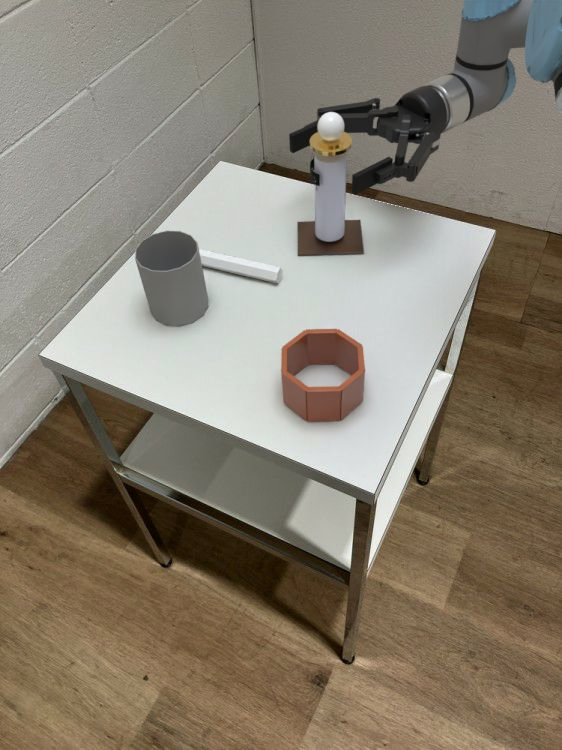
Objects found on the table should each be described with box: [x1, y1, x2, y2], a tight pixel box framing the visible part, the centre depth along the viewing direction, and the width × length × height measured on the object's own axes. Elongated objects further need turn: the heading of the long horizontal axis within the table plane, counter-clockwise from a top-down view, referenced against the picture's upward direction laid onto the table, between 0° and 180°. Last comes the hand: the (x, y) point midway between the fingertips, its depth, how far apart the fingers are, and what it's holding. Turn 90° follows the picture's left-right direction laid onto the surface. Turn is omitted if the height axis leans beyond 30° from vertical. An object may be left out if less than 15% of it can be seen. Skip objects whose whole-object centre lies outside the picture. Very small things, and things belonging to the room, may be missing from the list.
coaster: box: [297, 219, 365, 257], centre depth 99 cm, size 10×8×1 cm
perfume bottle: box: [309, 112, 353, 242], centre depth 91 cm, size 6×6×20 cm
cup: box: [134, 230, 209, 327], centre depth 87 cm, size 8×8×10 cm
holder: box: [280, 328, 366, 423], centre depth 78 cm, size 10×10×6 cm
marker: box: [199, 248, 283, 284], centre depth 95 cm, size 3×2×16 cm
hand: (320, 163), depth 88 cm, fingers open, 13 cm apart
